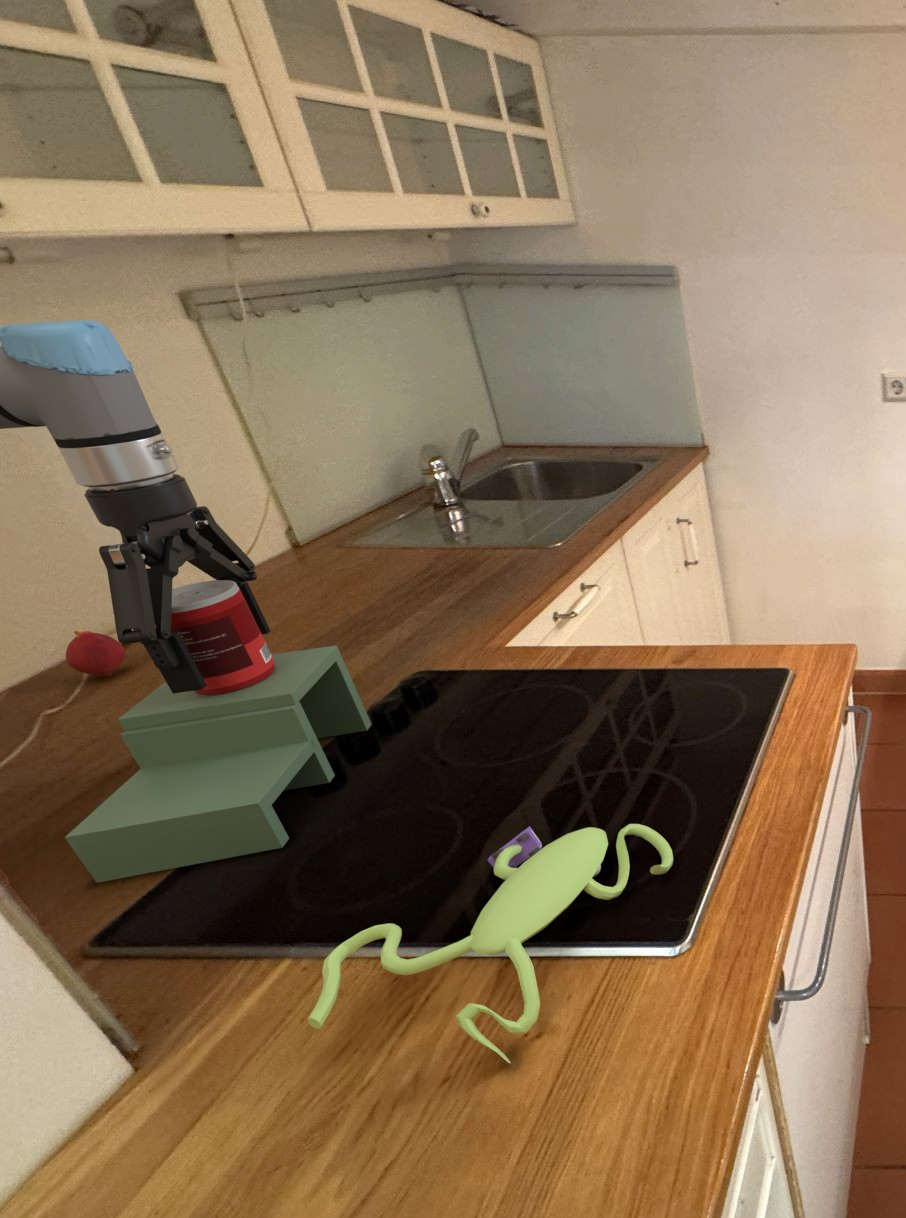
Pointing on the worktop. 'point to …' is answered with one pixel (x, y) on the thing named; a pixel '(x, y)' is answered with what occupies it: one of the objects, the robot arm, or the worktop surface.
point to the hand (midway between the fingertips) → (225, 660)
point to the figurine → (508, 915)
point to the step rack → (219, 767)
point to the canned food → (220, 636)
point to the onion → (94, 653)
